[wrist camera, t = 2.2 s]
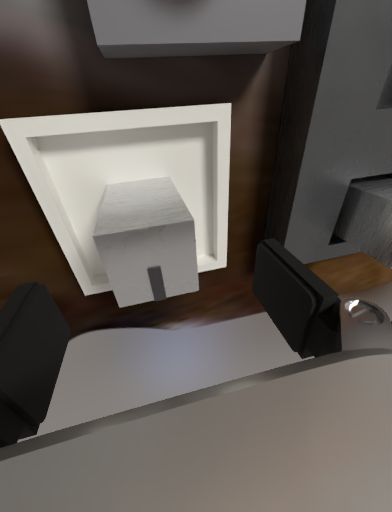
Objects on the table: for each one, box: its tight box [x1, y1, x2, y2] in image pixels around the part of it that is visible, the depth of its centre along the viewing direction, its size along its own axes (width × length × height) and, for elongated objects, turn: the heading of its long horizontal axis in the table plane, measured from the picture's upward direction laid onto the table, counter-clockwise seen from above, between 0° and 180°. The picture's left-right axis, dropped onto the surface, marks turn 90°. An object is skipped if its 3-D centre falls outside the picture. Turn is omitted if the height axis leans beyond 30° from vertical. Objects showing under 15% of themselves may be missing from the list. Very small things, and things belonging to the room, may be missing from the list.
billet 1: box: [92, 176, 199, 308], centre depth 13 cm, size 4×4×7 cm
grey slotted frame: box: [264, 0, 392, 264], centre depth 16 cm, size 18×14×3 cm
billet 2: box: [333, 175, 392, 269], centre depth 16 cm, size 4×4×7 cm
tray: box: [0, 103, 231, 296], centre depth 15 cm, size 12×12×2 cm
